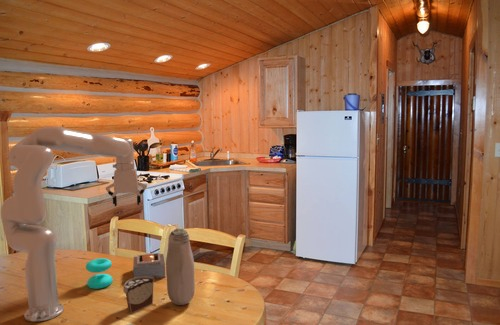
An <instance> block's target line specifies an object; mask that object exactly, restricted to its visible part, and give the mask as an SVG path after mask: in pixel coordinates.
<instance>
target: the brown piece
mask: <svg viewBox="0 0 500 325" xmlns="http://www.w3.org/2000/svg"><path fill="white" fill-rule="evenodd" d="M155 280H156V279H154V277H151V276H140V277H135V278H134V277H132V278H130V279H128V280H126V281H125V283H124V285H123V289H122V290H123V293H124V294H125V297H126V298H125V299H126V303H127V309H128V310H127V311H128V313H129V314H131V315H132V314H134V313H136V312H138V311H141V310H143V309H145V308H146V307H149V306H151V305H153V303H154V283H156V281H155ZM144 307H145V308H144ZM142 308H143V309H142Z"/></svg>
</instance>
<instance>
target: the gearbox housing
mask: <svg viewBox="0 0 500 325" xmlns="http://www.w3.org/2000/svg"><path fill="white" fill-rule="evenodd" d="M146 254H147V253H144V254H137V256H133V266H132V268H133V272H132V273H133V278H135V277H140V276H151V277H154V280H156V279H163V278H165V279H166V261H165V257H164V253H160V252H156V253H152V254H153V255H154V260H153V261H143V259H142V256H143V255H146Z"/></svg>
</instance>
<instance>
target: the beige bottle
mask: <svg viewBox="0 0 500 325" xmlns="http://www.w3.org/2000/svg"><path fill="white" fill-rule="evenodd" d="M167 242H168V245H167V252H166V258H165V277H166V289H167V290H166V291H167V295H168V298H169V300H170V301H171V302H172V303H173V304H174V305H177V306H185V305H187V304H189V303H190V302H191V301H192V299H193V298H194V296H195V288H196V287H195V285H196V284H195V282H196V281H195V259H194V254H193V251H192V247H191V242H190V236H189V233H188V231H187V230H186V229H184V228H175V229H173V230H171V232H170V233H169V236H168V241H167Z"/></svg>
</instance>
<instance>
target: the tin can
mask: <svg viewBox="0 0 500 325" xmlns="http://www.w3.org/2000/svg"><path fill="white" fill-rule="evenodd" d="M145 254H146V255H144V254H142V255H143V256H142V259H143V261H153V260H154V255H153V254H154V253H145Z"/></svg>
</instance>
